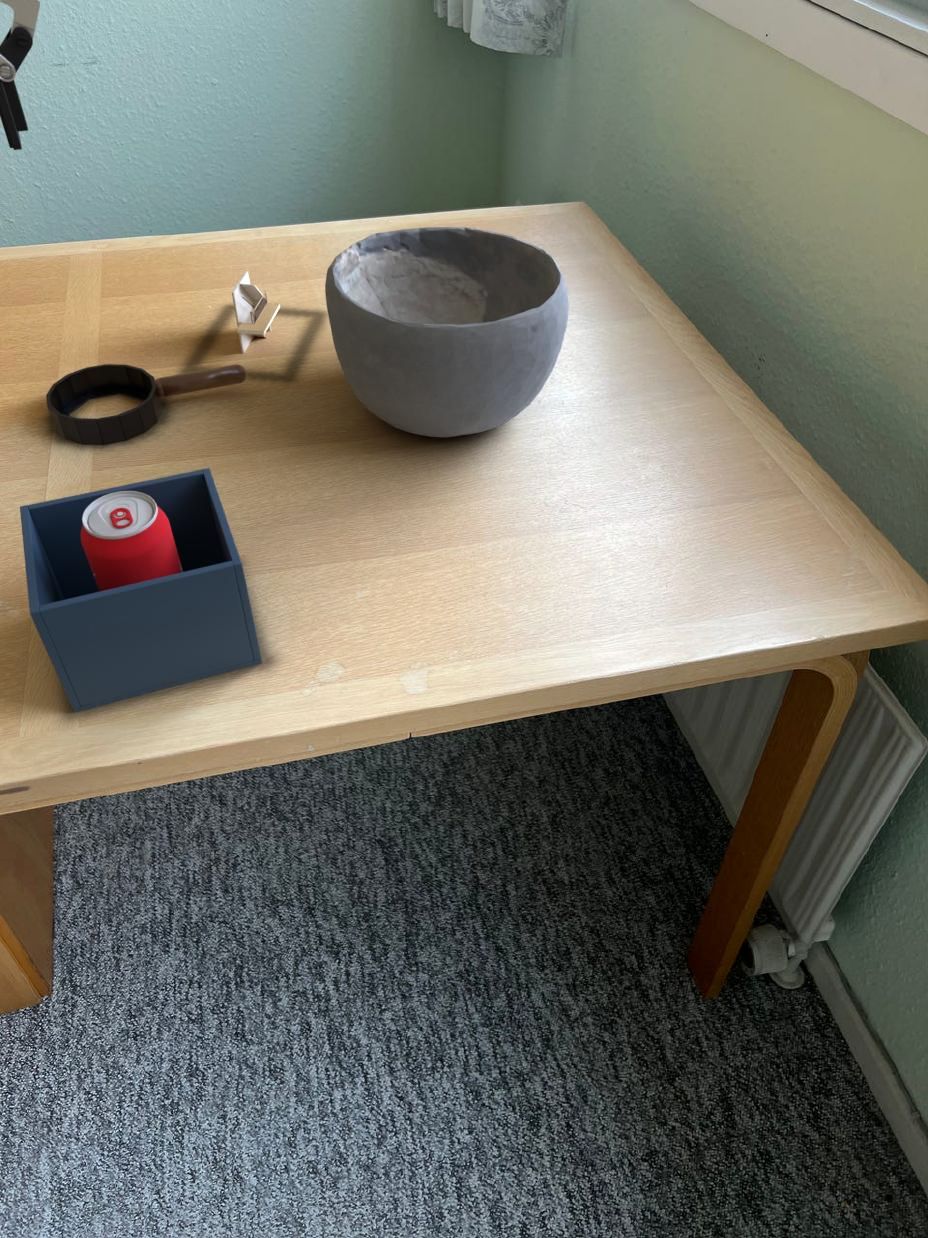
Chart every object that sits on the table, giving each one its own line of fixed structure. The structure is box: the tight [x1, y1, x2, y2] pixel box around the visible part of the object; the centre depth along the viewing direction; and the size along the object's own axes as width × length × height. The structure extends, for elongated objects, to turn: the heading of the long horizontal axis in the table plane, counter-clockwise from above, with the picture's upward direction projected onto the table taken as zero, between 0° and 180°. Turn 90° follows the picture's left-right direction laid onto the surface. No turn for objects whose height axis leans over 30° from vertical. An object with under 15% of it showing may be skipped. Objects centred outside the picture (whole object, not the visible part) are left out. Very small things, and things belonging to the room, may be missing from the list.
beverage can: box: [81, 491, 183, 591], centre depth 70 cm, size 6×6×12 cm
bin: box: [19, 467, 263, 714], centre depth 71 cm, size 14×12×11 cm
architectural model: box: [231, 270, 281, 354], centre depth 105 cm, size 3×7×7 cm, turn 173°
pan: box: [45, 363, 248, 446], centre depth 97 cm, size 20×11×3 cm, turn 112°
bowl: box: [324, 226, 570, 438], centre depth 94 cm, size 24×24×15 cm
